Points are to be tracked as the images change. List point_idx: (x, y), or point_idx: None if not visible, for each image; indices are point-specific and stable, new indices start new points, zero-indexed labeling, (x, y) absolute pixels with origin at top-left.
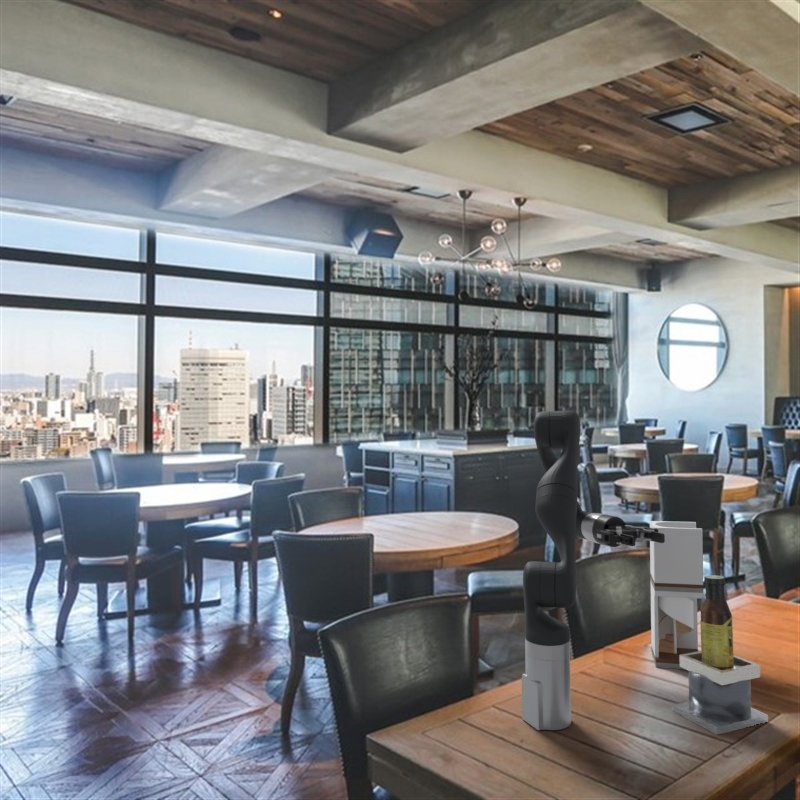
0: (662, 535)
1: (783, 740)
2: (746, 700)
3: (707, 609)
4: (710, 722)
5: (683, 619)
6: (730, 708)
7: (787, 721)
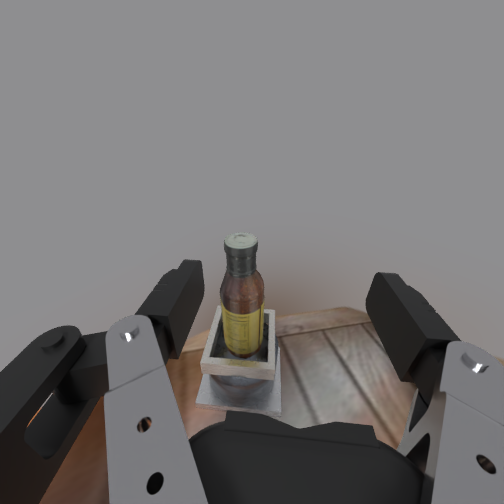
0: (200, 263)
1: None
2: None
3: (262, 280)
4: (277, 356)
5: None
6: None
7: (196, 339)
